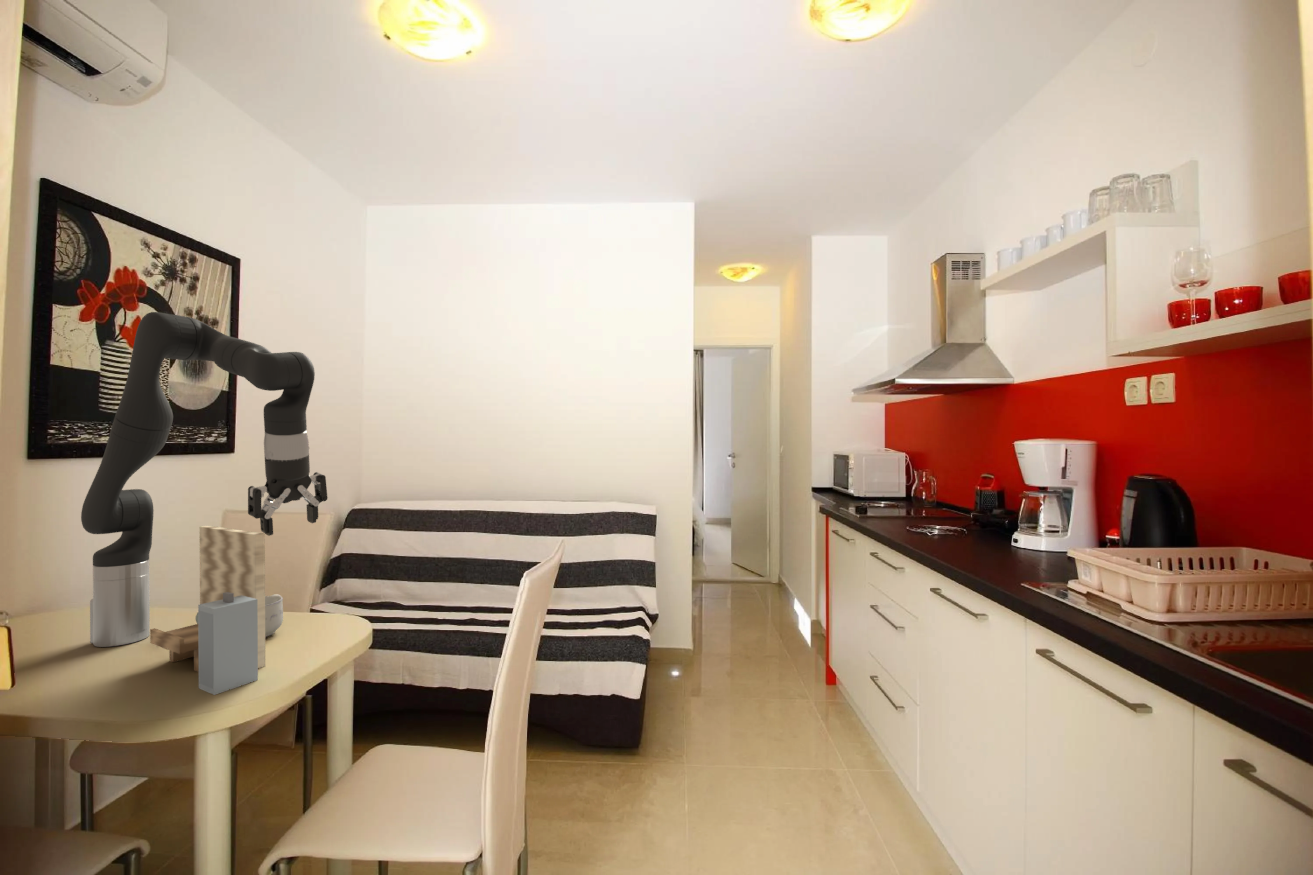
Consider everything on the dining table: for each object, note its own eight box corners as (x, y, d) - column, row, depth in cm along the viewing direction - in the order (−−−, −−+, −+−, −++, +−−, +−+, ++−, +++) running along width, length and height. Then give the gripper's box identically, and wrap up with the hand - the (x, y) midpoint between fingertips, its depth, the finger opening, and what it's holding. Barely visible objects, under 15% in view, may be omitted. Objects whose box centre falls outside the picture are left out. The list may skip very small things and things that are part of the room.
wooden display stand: (145, 663, 115) (145, 533, 115) (208, 646, 125) (208, 525, 125) (201, 686, 105) (200, 542, 105) (265, 665, 114) (264, 533, 114)
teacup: (254, 646, 125) (253, 609, 125) (212, 643, 127) (212, 606, 127) (305, 625, 138) (305, 592, 138) (267, 623, 140) (266, 589, 140)
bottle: (198, 688, 104) (197, 595, 104) (242, 674, 110) (241, 586, 110) (214, 694, 101) (213, 599, 101) (257, 679, 108) (257, 590, 107)
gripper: (312, 442, 123) (315, 513, 127) (237, 455, 111) (242, 532, 115) (333, 450, 120) (335, 523, 124) (258, 464, 108) (262, 544, 112)
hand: (290, 527), depth 120 cm, fingers open, 8 cm apart
